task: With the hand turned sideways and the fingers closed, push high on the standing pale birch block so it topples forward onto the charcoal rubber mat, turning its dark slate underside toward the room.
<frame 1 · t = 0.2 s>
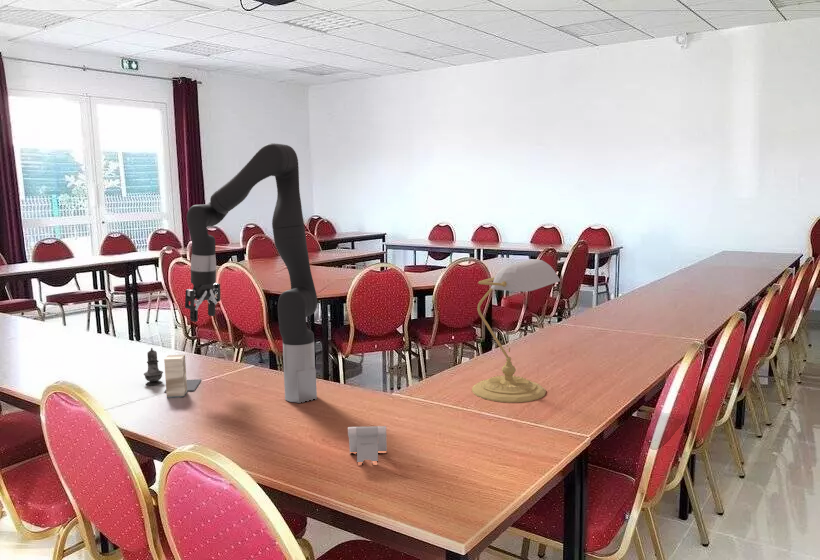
hand: (203, 318, 206), 22 cm above the table, tool pointing down, fingers open, 8 cm apart
portable electronic device stand: (368, 459, 150), on the table
desk lamp: (509, 391, 199), on the table
salt shaker: (154, 384, 212), on the table
birch block: (177, 395, 200), on the table
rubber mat: (183, 386, 208), on the table
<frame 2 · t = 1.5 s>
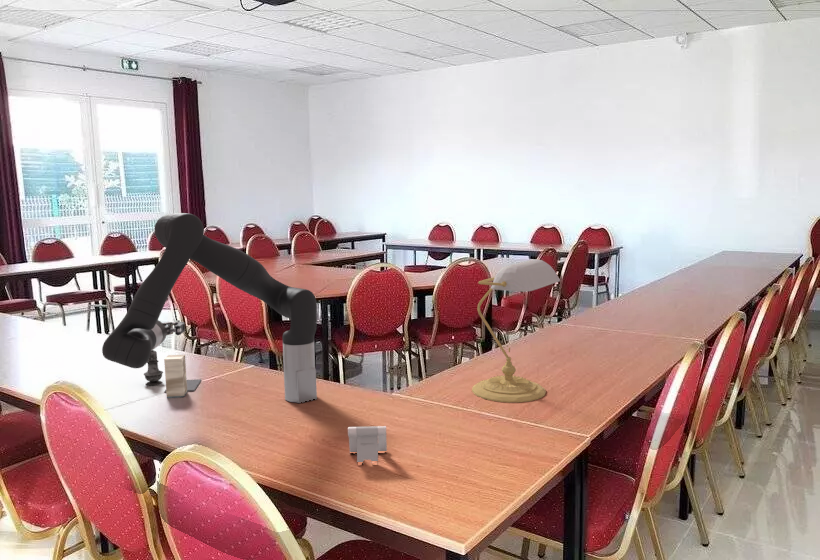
hand: (163, 324, 186), 24 cm above the table, tool horizontal, fingers open, 7 cm apart
nothing on the table moved.
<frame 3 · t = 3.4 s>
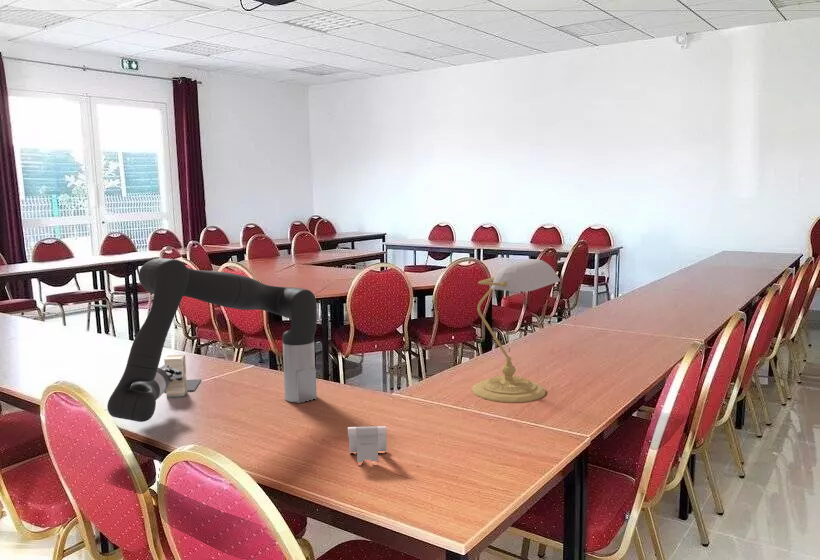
hand: (166, 368, 188), 11 cm above the table, tool horizontal, fingers closed
nothing on the table moved.
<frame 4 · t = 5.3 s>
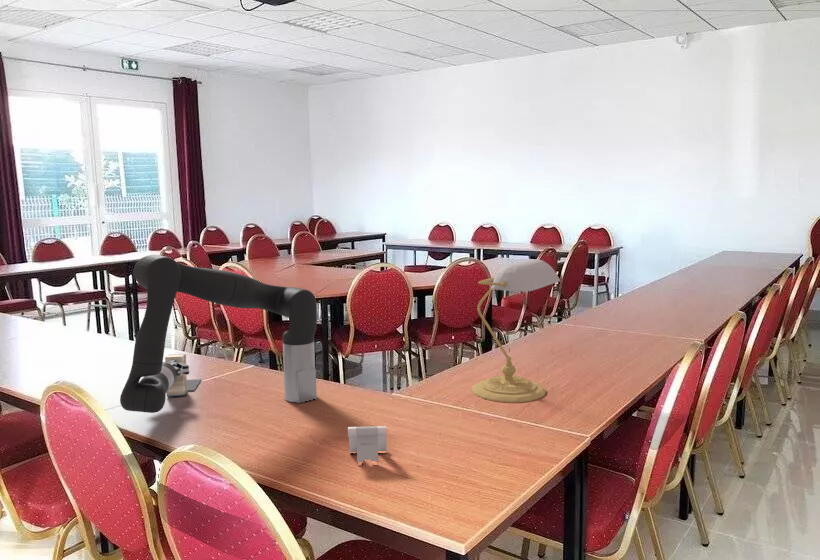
hand: (173, 362, 197), 11 cm above the table, tool horizontal, fingers closed
birch block: (177, 394, 200), on the table, tilted 5°
everything else where it was.
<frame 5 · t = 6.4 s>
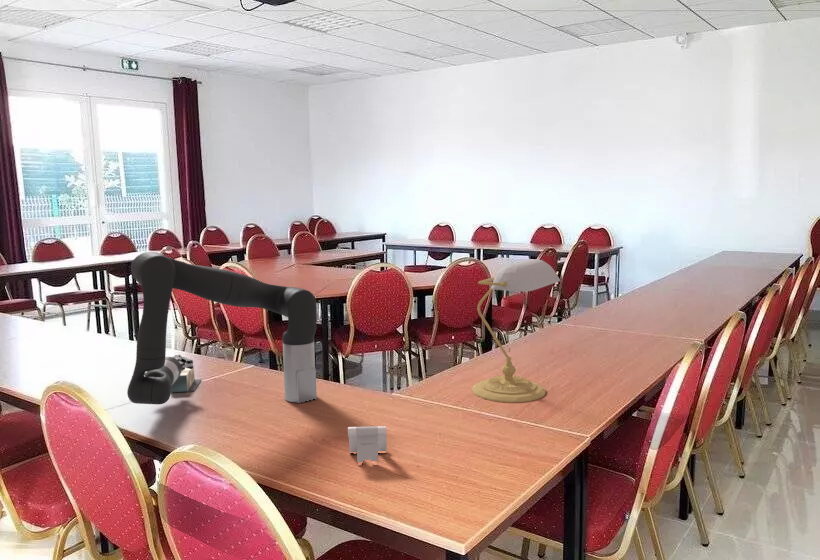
hand: (178, 357, 203), 11 cm above the table, tool horizontal, fingers closed
birch block: (178, 383, 201), point 3 cm above the table, tilted 90°, touching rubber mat
everything else where it was.
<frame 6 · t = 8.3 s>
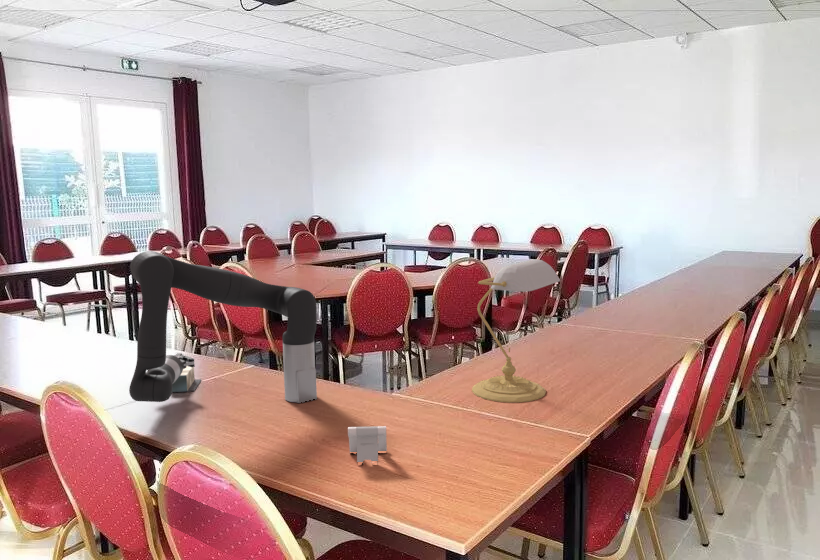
hand: (179, 356, 205), 10 cm above the table, tool horizontal, fingers closed
nothing on the table moved.
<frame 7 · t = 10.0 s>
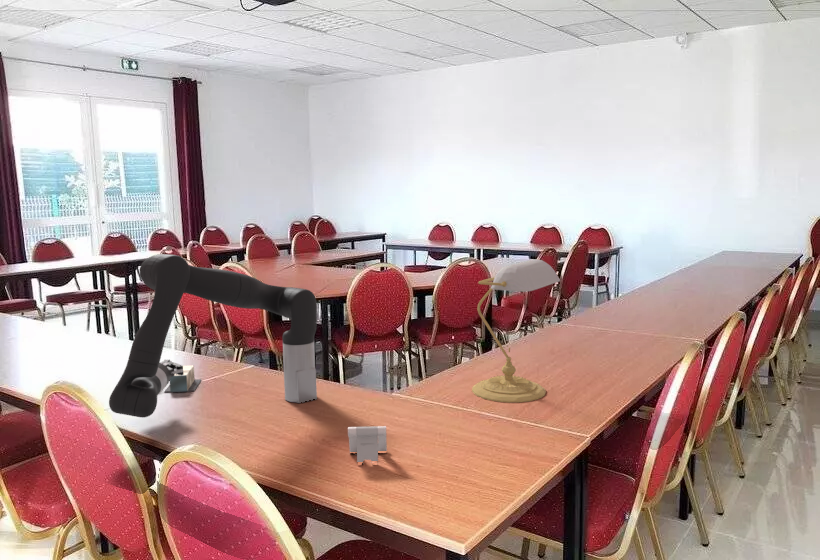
hand: (167, 362, 188), 13 cm above the table, tool horizontal, fingers closed
nothing on the table moved.
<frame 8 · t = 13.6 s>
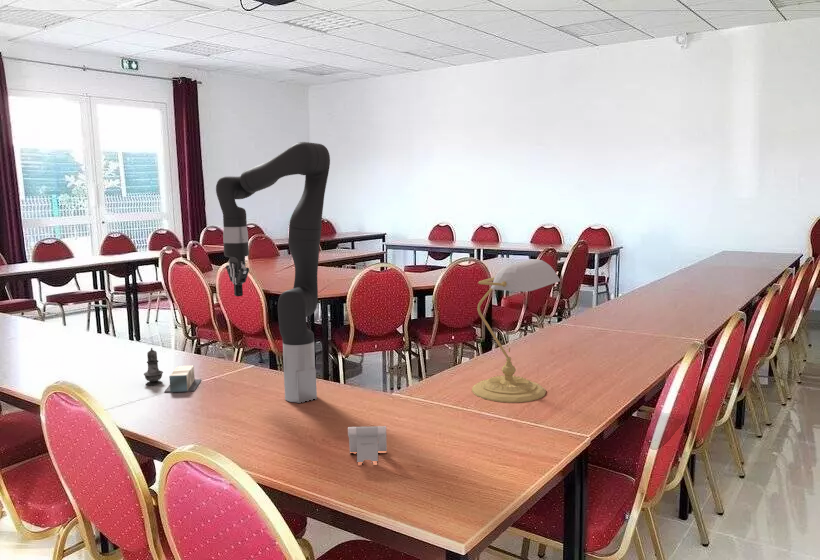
hand: (238, 295, 205), 29 cm above the table, tool pointing down, fingers closed
nothing on the table moved.
at the end: birch block tilted 90°; birch block 6.8 cm from the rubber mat (horizontally); birch block point 2.9 cm above the table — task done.
